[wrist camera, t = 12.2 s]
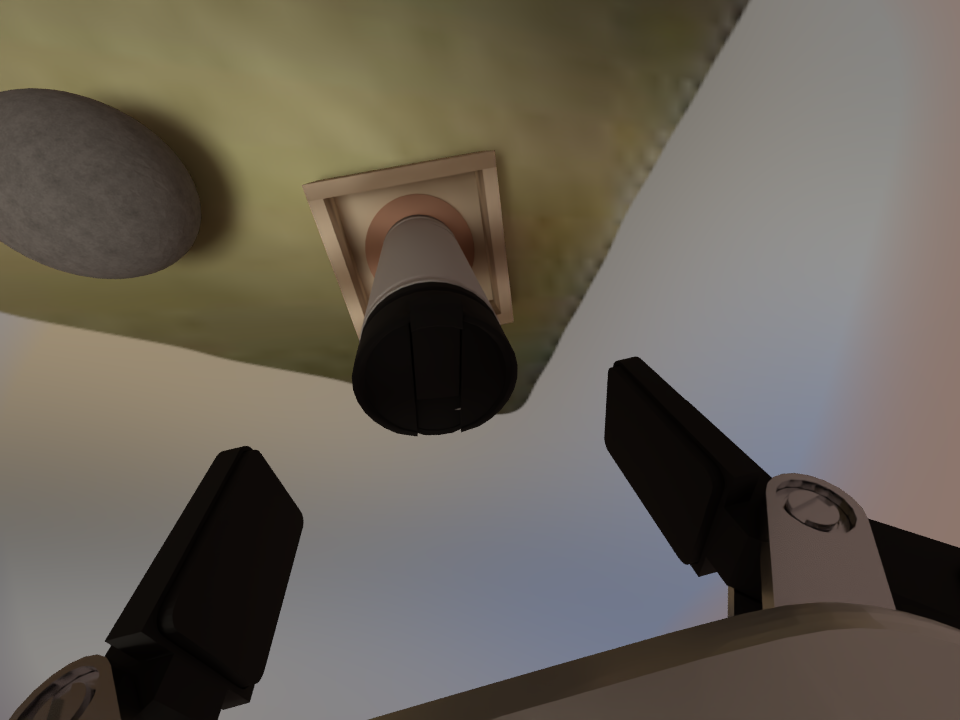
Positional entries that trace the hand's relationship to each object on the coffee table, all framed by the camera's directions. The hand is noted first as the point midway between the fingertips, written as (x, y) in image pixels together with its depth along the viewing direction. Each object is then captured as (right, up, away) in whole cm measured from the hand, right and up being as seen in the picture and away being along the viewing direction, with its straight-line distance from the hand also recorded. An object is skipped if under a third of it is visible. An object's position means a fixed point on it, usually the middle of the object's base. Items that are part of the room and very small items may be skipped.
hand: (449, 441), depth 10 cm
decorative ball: (-23, +15, +16) cm, 32 cm away
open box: (-4, +12, +21) cm, 25 cm away
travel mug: (-4, +11, +20) cm, 24 cm away
